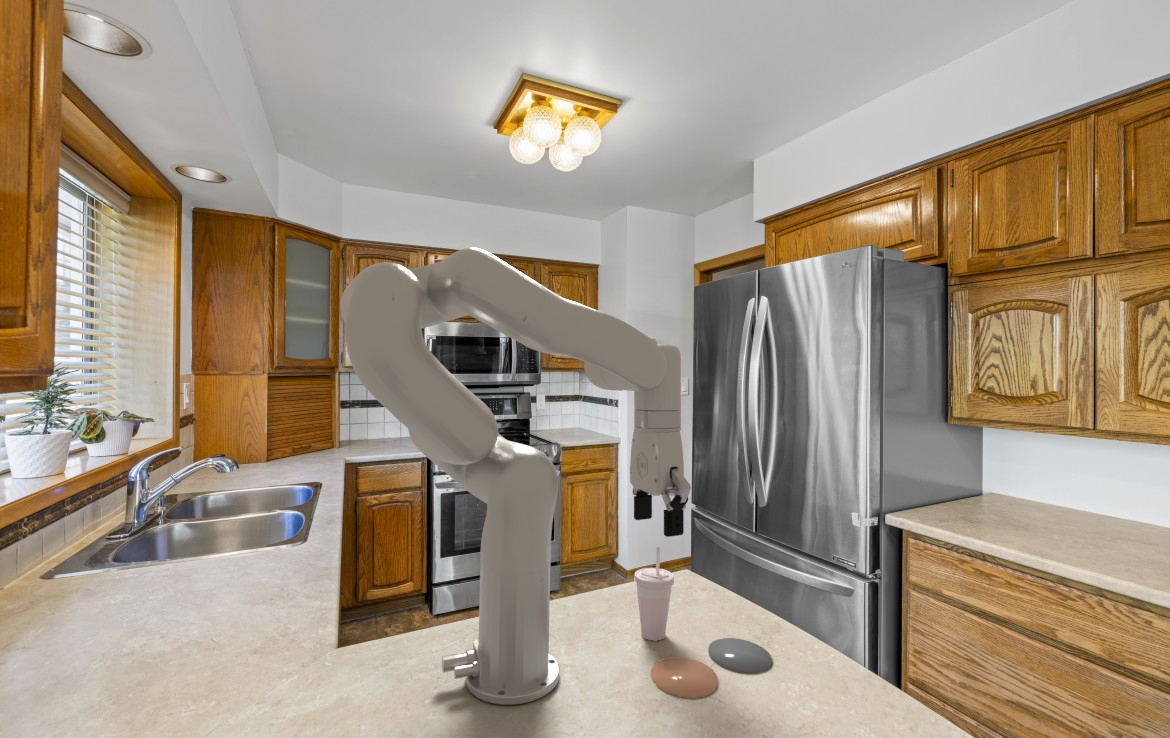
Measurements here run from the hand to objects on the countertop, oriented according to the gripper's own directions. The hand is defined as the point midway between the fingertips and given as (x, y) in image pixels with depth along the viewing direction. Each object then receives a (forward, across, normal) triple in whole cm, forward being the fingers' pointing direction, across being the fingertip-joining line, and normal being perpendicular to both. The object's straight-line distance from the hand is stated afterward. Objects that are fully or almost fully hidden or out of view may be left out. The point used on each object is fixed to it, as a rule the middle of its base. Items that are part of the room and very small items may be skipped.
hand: (657, 526), depth 84 cm
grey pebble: (+18, +10, +8) cm, 22 cm away
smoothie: (+17, 0, -1) cm, 17 cm away
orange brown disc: (+18, +12, -3) cm, 22 cm away
